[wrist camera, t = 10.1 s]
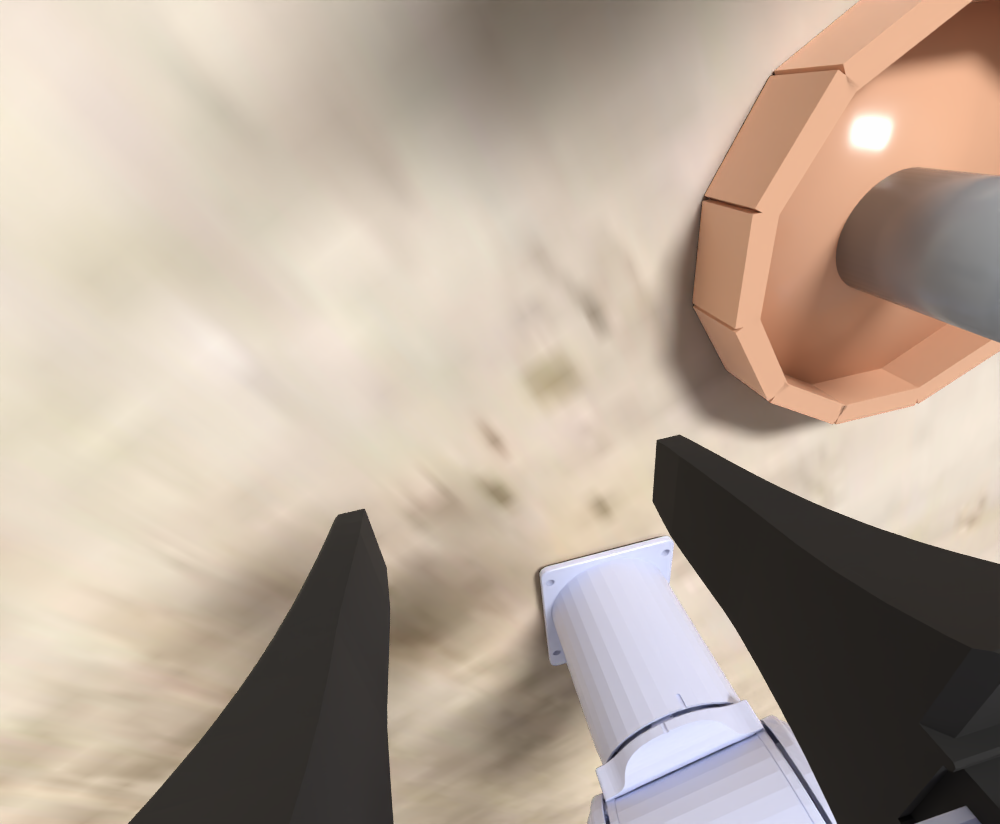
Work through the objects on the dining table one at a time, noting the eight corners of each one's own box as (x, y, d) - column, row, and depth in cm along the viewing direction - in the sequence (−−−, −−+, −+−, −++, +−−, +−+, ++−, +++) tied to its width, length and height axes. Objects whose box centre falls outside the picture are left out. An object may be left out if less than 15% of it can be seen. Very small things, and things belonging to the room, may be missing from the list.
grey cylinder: (928, 271, 21) (1096, 320, 16) (828, 304, 21) (967, 363, 16) (960, 151, 19) (1171, 166, 14) (845, 187, 19) (1018, 215, 14)
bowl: (960, 353, 26) (1023, 379, 23) (680, 417, 24) (715, 453, 22) (1139, -54, 17) (1268, -82, 15) (722, -1, 15) (789, -22, 13)
